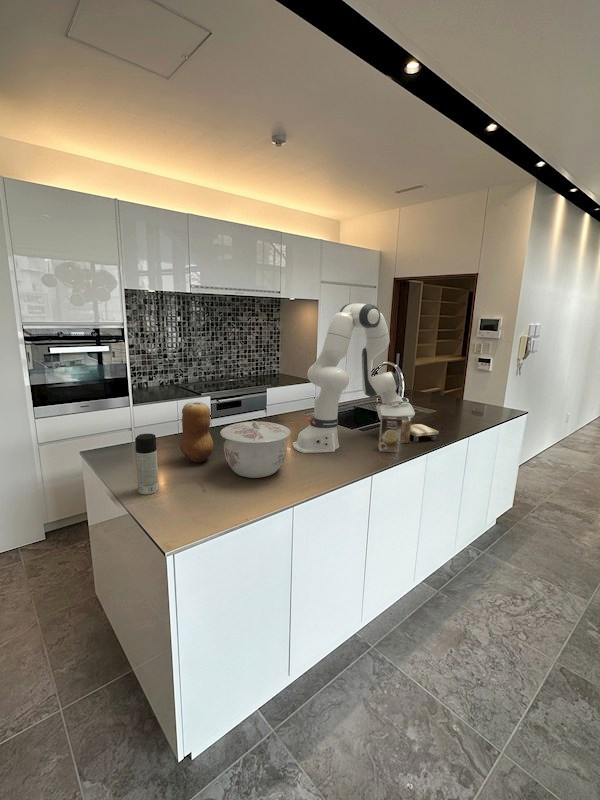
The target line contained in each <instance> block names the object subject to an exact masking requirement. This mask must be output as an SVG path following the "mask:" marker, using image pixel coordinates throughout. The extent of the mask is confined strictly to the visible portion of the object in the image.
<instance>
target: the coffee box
mask: <svg viewBox="0 0 600 800" xmlns="http://www.w3.org/2000/svg"><path fill="white" fill-rule="evenodd" d="M379 424H380V425H379V434H378V446H377V449H378V451H379V452H383V453H384V452H387V453H397V452H398V453H400V446H401V445H400V444H401V443H400V436H401V426H402V419H401V417H398V416H385V415H381V420H380V423H379Z"/></svg>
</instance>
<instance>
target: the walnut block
mask: <svg viewBox="0 0 600 800" xmlns="http://www.w3.org/2000/svg"><path fill="white" fill-rule="evenodd" d="M411 425H412V421H411V420H410V421H408V420H406V419H402V426H401V436H400V444H407V443H408V442H409V443H410V437H411V434H410V428H411ZM409 443H408V444H409Z"/></svg>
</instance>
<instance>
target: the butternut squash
mask: <svg viewBox="0 0 600 800" xmlns="http://www.w3.org/2000/svg"><path fill="white" fill-rule="evenodd" d="M181 410H182V411H181V414H182V417H181V426H182V431H181V432H182V434H181V438H180V442H179V448H180V451H181V452H182V453H183V454H182V455H184V457H186V459H188V460H189V461H191V462H193V463H195V464H198V463H201V462H204V461H206V460H207V459H208V458H209V457H210V456H211V455H212V453H213V451H214V441H213V437H212V436H211V434H210V426H211V409H210V407H209V405H207V404H206V403H204V402H200V401H199V402H198V401H195V402H187V403H185V404H184V405H183V408H182V409H181Z"/></svg>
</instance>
